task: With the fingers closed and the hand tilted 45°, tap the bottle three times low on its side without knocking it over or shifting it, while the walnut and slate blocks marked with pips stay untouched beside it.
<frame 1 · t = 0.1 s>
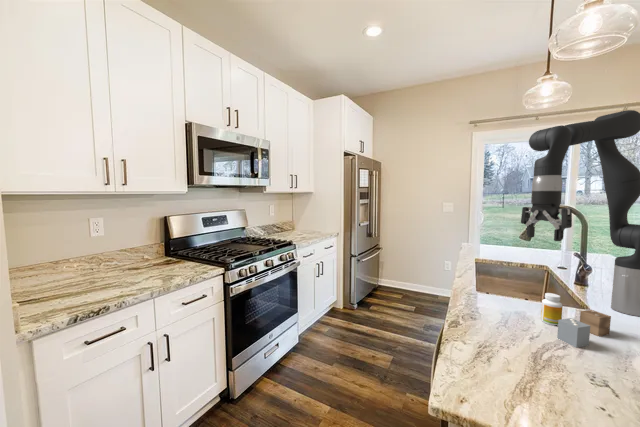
hand: (543, 239, 89), 29 cm above the counter, tool pointing down, fingers open, 8 cm apart
supplement bottle: (550, 323, 93), on the counter
slate three pip block: (572, 342, 80), on the counter
walnut two pip block: (593, 331, 87), on the counter
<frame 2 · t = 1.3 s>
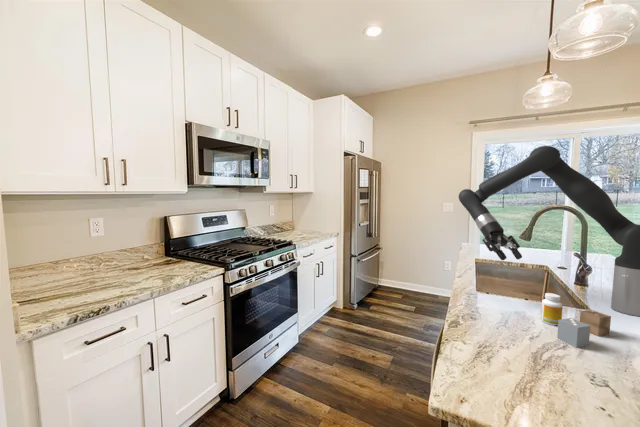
hand: (512, 258, 106), 19 cm above the counter, tool tilted 45°, fingers open, 7 cm apart
nothing on the counter moved.
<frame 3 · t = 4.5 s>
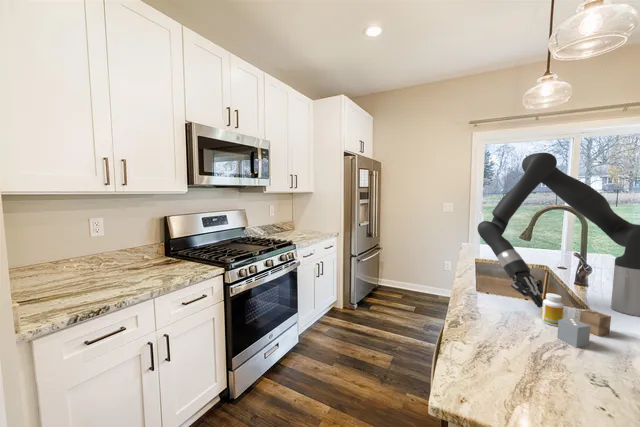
hand: (542, 306, 95), 4 cm above the counter, tool tilted 45°, fingers closed
supplement bottle: (551, 323, 92), on the counter, touching gripper
everything else where it was.
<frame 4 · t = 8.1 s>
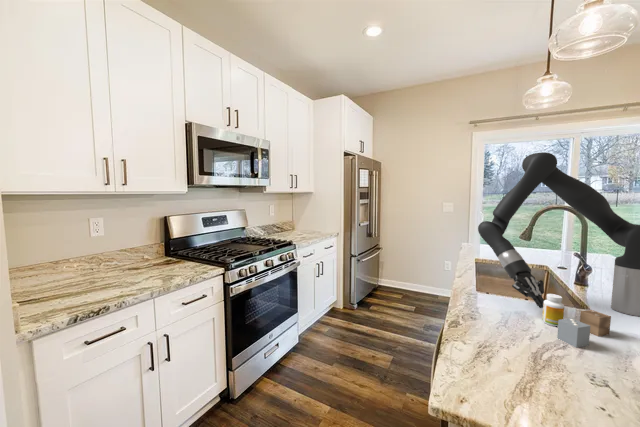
hand: (543, 307, 95), 4 cm above the counter, tool tilted 45°, fingers closed
nothing on the counter moved.
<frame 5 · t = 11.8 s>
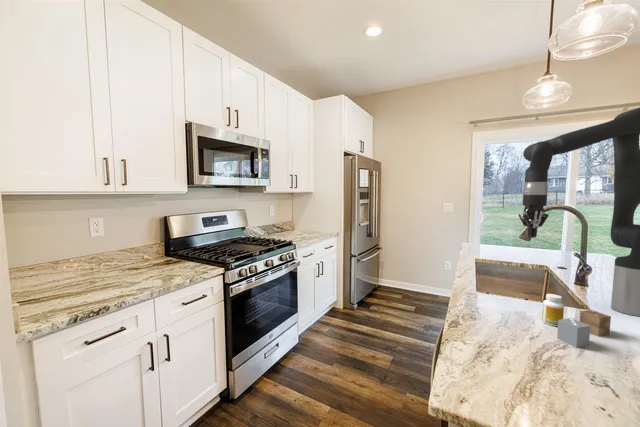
hand: (532, 237, 107), 27 cm above the counter, tool pointing down, fingers closed
supplement bottle: (552, 324, 92), on the counter
everything else where it was.
at the end: supplement bottle moved 0.8 cm from its start; supplement bottle tilted 0°; supplement bottle touching counter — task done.
